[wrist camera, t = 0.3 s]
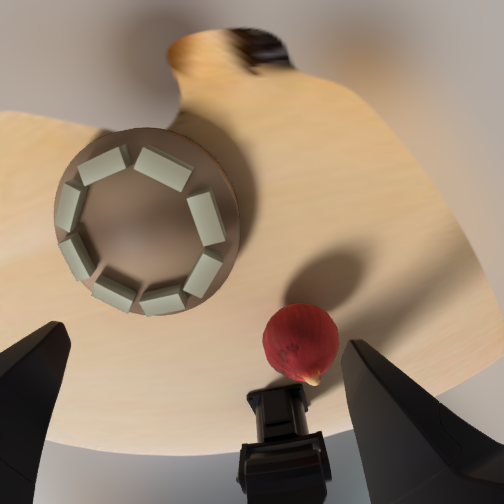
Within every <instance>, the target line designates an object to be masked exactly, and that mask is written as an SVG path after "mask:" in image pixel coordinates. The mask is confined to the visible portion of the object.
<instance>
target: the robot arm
mask: <svg viewBox="0 0 504 504" xmlns="http://www.w3.org/2000/svg"><path fill="white" fill-rule="evenodd" d="M70 349H71V341H70V338H69V335H68V333H67V330H66V328H65V325H64V324H63V323H62V322H58V321H51V322H49V323H47V324H46V325H44V326H43V327H41V328H39V329H38V330H36V331H34V332H33V333H31V334H29V335H28V336H26V337H25V338H23V339H21V340H20V341H18V342H17V343H15V344H14V345H12V346H10V347H9V348H7V349H6V350H4V351H3V352H1V353H0V504H33V497H34V491H35V483H36V479H37V473H38V468H39V463H40V458H41V454H42V450H43V446H44V441H45V438H46V434H47V430H48V426H49V423H50V419H51V416H52V412H53V409H54V406H55V403H56V400H57V397H58V393H59V390H60V387H61V384H62V380H63V376H64V372H65V368H66V364H67V360H68V356H69V352H70ZM341 366H342V372H343V378H344V385H345V391H346V398H347V404H348V409H349V413H350V417H351V420H352V424H353V428H354V432H355V436H356V439H357V444H358V448H359V452H360V456H361V460H362V464H363V469H364V473H365V478H366V482H367V487H368V491H369V496H370V501H371V504H504V445H503V444H501V443H498V442H496V441H495V440H493V439H491V438H490V437H488V436H487V435H485V434H484V433H482V432H481V431H479V430H478V429H476V428H474V427H473V426H471V425H470V424H468V423H467V422H466V421H464V420H463V419H461V418H460V417H458V416H457V415H456V414H454V413H453V412H452V411H451V410H449V409H448V408H447V407H446V406H444V405H443V404H442V403H439V401H438V400H437V399H436V398H434V397H433V396H432V395H431V394H430V393H428V392H427V391H426V390H425V389H423V388H422V387H421V386H420V385H418V384H417V383H416V382H415V381H414V380H412V379H411V378H410V377H409V376H407V375H406V374H405V373H404V372H402V371H401V370H400V369H399V368H397V367H396V366H395V365H394V364H393V363H391V362H390V361H389V360H388V359H386V358H385V357H384V356H383V355H381V354H380V353H379V352H378V351H376V350H375V349H374V348H373V347H372V346H370V345H369V344H368V343H367V342H365V341H364V340H363V339H351V340H349V341H348V343H347V345H346V348H345V350H344V353H343V356H342V359H341ZM247 401H248V403H249V404H250V406H251V408H252V410H253V412H254V413H255V415H256V425H257V440H258V443H252V444H247V443H246V444H242V449H241V450H240V461H239V471H238V474H237V478H236V481H237V483H239V484H240V485H241V488H242V491H243V493H244V494H247V499H248V502H247V503H248V504H324V503H325V501H326V498H327V489H326V484H325V483H327V482H332V476H331V469H330V464H329V459H328V455H327V451H326V447H325V443H324V439H323V435H322V431H318V432H317V433H312V434H309V431H308V426H307V421H306V416H305V412H307V411H308V407H307V402H306V398H305V394H304V390H303V386H302V385H301V384H297V385H292V386H288V387H283V388H278V389H273V390H268V391H263V392H257V393H252V394H248V395H247Z"/></svg>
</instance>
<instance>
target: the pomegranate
mask: <svg viewBox="0 0 504 504" xmlns="http://www.w3.org/2000/svg"><path fill="white" fill-rule="evenodd" d="M262 343H263V346H264V350H265V354H266V357H267V360H268V362H269V364H270V365H271V366H272V367H273V368H274V369H275V370H276V371H278V372H279V373H281V374H283V375H284V376H286V377H288V378H290V379H291V380H296V381H304V382H307V383H309V384H310V385H313V386H316V385H319V384H320V383H321V380H320V376H321V375H323V374H324V373H325V372H326V371H327V370H328V369H329V368H330V366H331V365H332V363H333V361H334V359H335V357H336V355H337V352H338V347H339V338H338V329H337V327H336V325H335V323H334V322H333V320H332V319H331V317H330V316H329V314H328V313H327V312H325V311H324V310H322V309H320V308H319V307H317V306H314V305H311V304H305V303H297V304H291V305H288V306H286V307H284V308H282V309H280V310H279V311H278V312H276V313H275V314H274V315H273V316H272V317H271V319H270V320H269V322H268V323H267V326H266V328H265V331H264V333H263V341H262Z"/></svg>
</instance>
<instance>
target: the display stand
mask: <svg viewBox="0 0 504 504" xmlns="http://www.w3.org/2000/svg"><path fill="white" fill-rule="evenodd" d="M54 226H55V231H56V236H57V240H58V246H59V248H60V250H61V252H62V254H63V256H64V258H65V260H66V262H67V264H68V266H69V268H70V270H71V272H72V273H73V275H74V277H75V279H76V281H81V282H82V283H83V284H84V286H86V287H87V288H88V289H89V290H90V291H91V292H92V295H91V296H93V297H95V298H97V299H99V300H101V301H103V302H105V303H107V304H109V305H111V306H113V307H115V308H117V309H119V310H121V311H123V312H125V313H127V314H128V312H132V313H136V314H141V315H146V316H147V317H149V316H163V315H171V314H176V313H180V312H184V311H187V310H189V309H192V308H194V307H196V306H198V305H199V304H201V303H203V302H205V301H206V300H207V299H208V298H210V297H211V296H212V295H213V294H214V293H215V292H216V291H217V290H218V289H219V288H220V287H221V286H222V285H223V283H224V282H225V281H226V279H227V278H228V276H229V274H230V272H231V270H232V268H233V266H234V263H235V260H236V257H237V253H238V248H239V238H240V220H239V208H238V204H237V199H236V195H235V193H234V190H233V187H232V185H231V183H230V181H229V179H228V177H227V175H226V173H225V172H224V170H223V169H222V168H221V166H220V165H219V163H218V162H217V161H216V160H215V159H214V158H213V157H212V156H211V155H210V154H209V153H208V152H207V151H206V150H205V149H203V148H202V147H201V146H200V145H198V144H197V143H195V142H194V141H192V140H190V139H189V138H187V137H185V136H182V135H180V134H178V133H175V132H172V131H168V130H164V129H158V128H134V129H129V130H124V131H119V132H115V133H111V134H108V135H106V136H103V137H101V138H99V139H97V140H95V141H94V142H92V143H90V144H89V145H88V146H86V147H85V148H84V149H83V150H81V151H80V152H79V153H78V154H77V155H76V156H75V158H74V159H73V160H72V161H71V162H70V164H69V165H68V167H67V168H66V170H65V172H64V174H63V176H62V178H61V180H60V182H59V186H58V189H57V192H56V197H55V203H54Z"/></svg>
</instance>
